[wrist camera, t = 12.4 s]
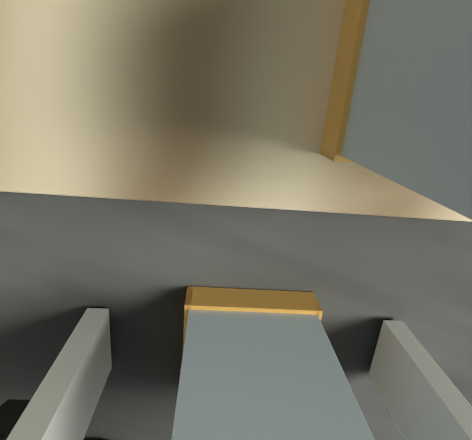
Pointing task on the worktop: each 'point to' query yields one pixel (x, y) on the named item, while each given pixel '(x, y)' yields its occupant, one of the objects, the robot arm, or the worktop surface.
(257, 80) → the pin board
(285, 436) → the sleeve
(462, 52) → the sleeve
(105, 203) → the worktop surface
